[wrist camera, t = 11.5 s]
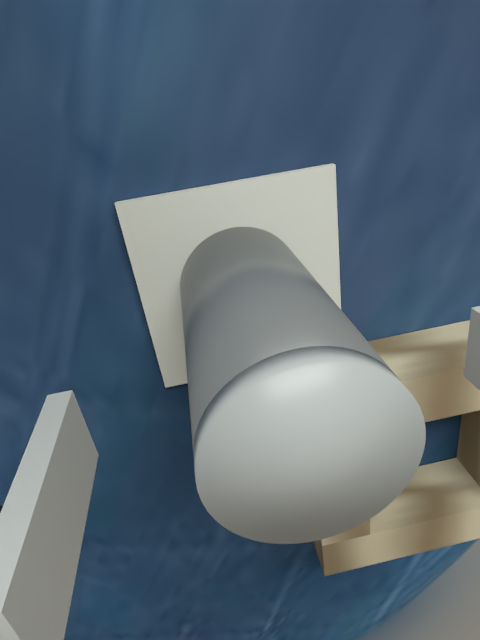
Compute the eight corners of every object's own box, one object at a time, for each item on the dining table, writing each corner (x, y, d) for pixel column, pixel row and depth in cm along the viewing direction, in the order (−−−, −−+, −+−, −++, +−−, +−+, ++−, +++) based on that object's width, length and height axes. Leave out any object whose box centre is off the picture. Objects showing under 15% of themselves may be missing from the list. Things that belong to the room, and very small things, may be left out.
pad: (165, 383, 24) (165, 387, 24) (115, 201, 19) (114, 203, 19) (340, 347, 25) (342, 350, 24) (332, 163, 20) (335, 164, 20)
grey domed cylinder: (192, 349, 23) (216, 564, 12) (168, 239, 20) (171, 395, 9) (303, 326, 23) (419, 516, 13) (294, 216, 20) (433, 340, 10)
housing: (306, 521, 31) (324, 576, 27) (288, 357, 24) (309, 401, 21) (491, 478, 32) (531, 525, 28) (521, 309, 25) (578, 343, 22)
